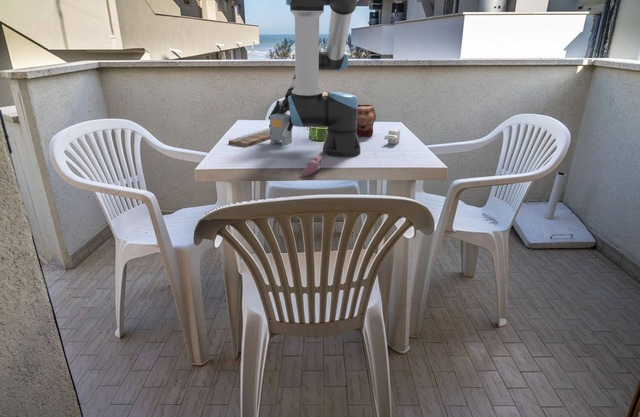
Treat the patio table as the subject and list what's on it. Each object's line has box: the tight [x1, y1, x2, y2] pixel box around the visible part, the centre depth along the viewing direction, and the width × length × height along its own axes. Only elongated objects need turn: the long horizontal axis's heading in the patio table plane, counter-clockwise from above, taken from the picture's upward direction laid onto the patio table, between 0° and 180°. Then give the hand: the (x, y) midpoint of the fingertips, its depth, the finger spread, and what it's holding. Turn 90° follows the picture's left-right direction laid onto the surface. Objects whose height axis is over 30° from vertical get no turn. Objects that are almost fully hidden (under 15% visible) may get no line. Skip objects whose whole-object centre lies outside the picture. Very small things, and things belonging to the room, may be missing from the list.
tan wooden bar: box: [236, 128, 269, 142], centre depth 185 cm, size 22×2×2 cm, turn 151°
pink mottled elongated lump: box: [301, 155, 324, 177], centre depth 140 cm, size 10×5×7 cm, turn 169°
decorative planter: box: [357, 104, 377, 137], centre depth 195 cm, size 20×12×14 cm, turn 1°
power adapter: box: [384, 128, 401, 145], centre depth 179 cm, size 11×5×6 cm, turn 152°
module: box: [269, 113, 293, 146], centre depth 178 cm, size 6×7×12 cm
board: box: [228, 134, 271, 148], centre depth 185 cm, size 24×10×2 cm, turn 151°
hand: (276, 135), depth 176 cm, fingers closed on module, 7 cm apart
